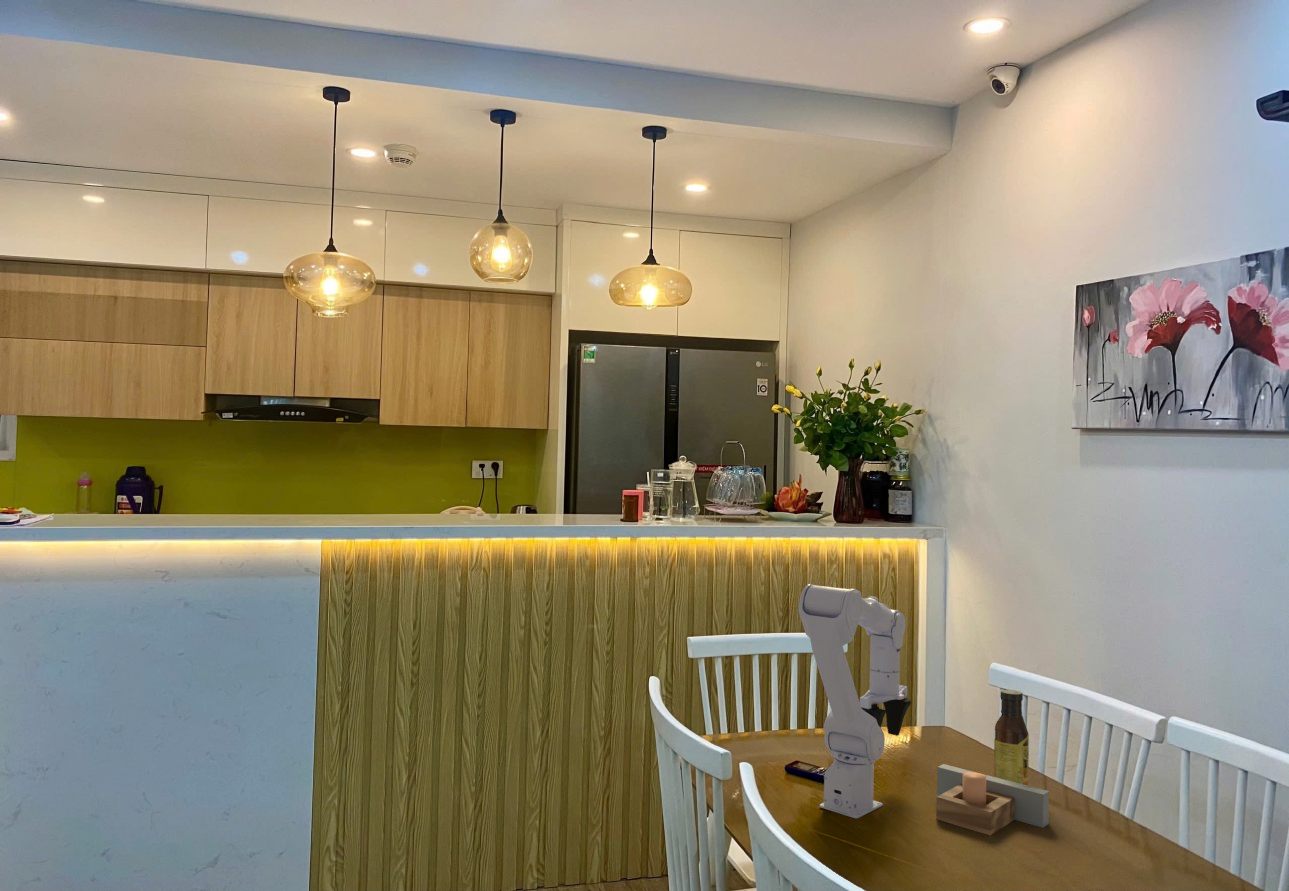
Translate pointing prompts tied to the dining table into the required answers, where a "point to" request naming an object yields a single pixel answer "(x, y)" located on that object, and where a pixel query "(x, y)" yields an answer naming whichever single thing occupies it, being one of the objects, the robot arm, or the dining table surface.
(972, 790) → the dowel
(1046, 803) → the backstop
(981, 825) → the socket block
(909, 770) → the dining table surface
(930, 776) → the dining table surface
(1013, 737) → the sauce bottle
